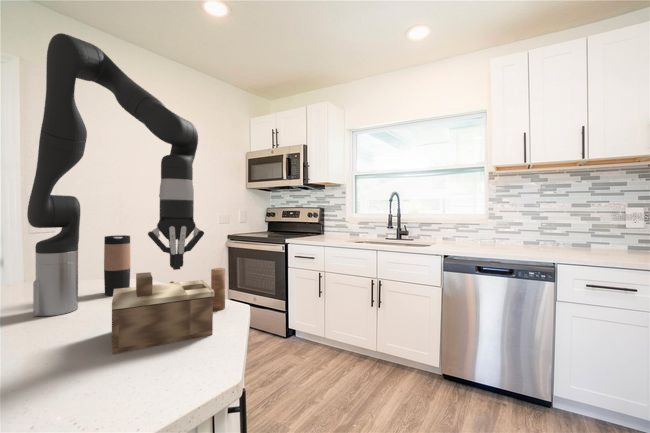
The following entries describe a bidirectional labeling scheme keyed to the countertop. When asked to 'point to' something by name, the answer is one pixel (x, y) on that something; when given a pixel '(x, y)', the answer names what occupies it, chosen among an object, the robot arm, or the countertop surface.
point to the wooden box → (161, 323)
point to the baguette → (218, 288)
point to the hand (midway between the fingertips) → (176, 269)
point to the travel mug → (116, 263)
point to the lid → (158, 292)
